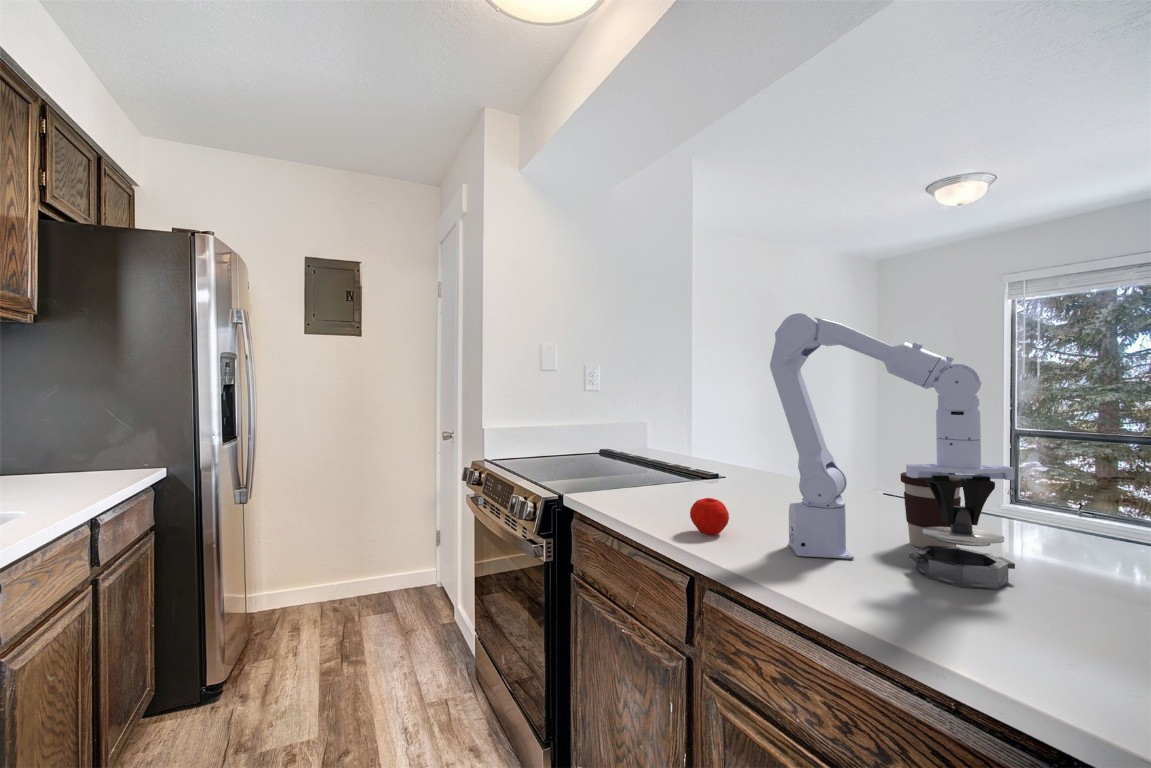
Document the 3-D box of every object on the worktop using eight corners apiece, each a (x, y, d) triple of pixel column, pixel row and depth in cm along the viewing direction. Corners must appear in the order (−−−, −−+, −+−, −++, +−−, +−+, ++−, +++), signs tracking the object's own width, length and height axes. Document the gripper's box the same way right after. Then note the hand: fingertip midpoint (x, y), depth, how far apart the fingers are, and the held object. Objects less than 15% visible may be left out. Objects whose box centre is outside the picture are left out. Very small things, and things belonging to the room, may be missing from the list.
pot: (929, 585, 78) (929, 566, 78) (898, 561, 89) (898, 544, 89) (1032, 591, 75) (1032, 571, 75) (987, 565, 86) (987, 548, 86)
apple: (691, 527, 112) (690, 493, 112) (728, 529, 110) (728, 495, 110) (689, 537, 105) (688, 501, 105) (729, 540, 102) (729, 503, 102)
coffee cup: (976, 556, 92) (975, 472, 92) (915, 553, 94) (913, 470, 94) (948, 539, 101) (947, 463, 101) (893, 537, 103) (891, 463, 103)
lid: (939, 546, 78) (936, 510, 78) (912, 533, 88) (911, 501, 88) (1020, 550, 75) (1017, 513, 76) (983, 537, 85) (981, 504, 86)
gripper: (919, 440, 80) (921, 527, 80) (1026, 441, 77) (1028, 532, 77) (900, 436, 87) (901, 516, 87) (997, 437, 84) (999, 520, 84)
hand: (959, 523), depth 82 cm, fingers closed on lid, 3 cm apart
